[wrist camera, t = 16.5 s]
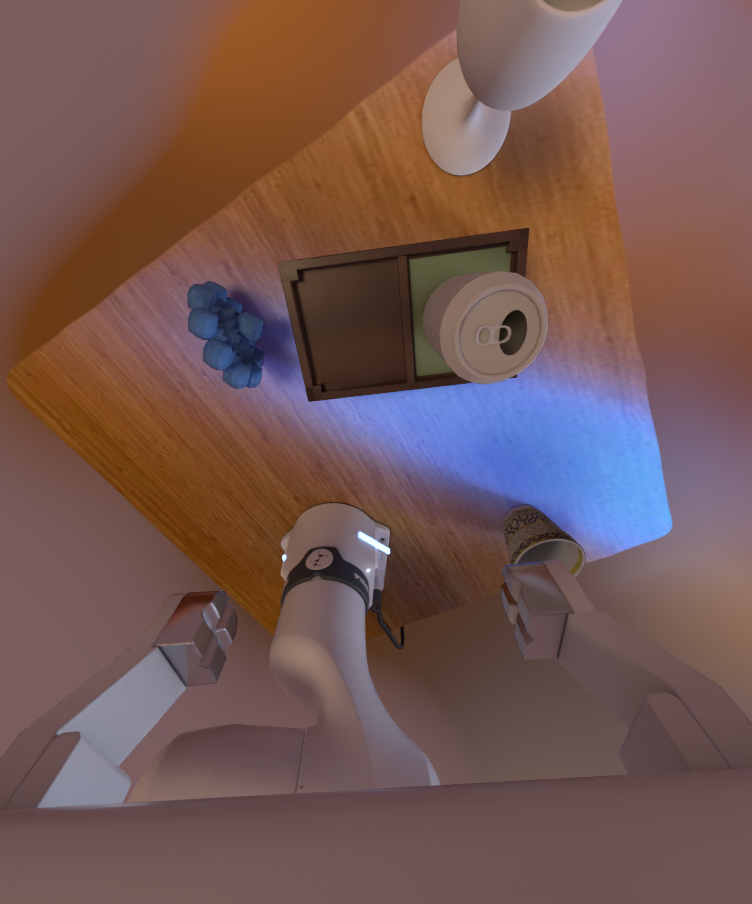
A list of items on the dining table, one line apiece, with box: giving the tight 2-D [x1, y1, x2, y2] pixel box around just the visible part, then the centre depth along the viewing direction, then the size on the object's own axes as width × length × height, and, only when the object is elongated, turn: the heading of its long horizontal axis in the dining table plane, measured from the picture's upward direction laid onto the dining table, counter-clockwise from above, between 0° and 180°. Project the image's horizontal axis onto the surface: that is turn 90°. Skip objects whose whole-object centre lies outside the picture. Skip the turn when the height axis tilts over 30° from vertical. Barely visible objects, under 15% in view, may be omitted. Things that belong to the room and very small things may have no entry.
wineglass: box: [422, 0, 622, 175], centre depth 23 cm, size 9×9×21 cm
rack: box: [278, 228, 529, 402], centre depth 36 cm, size 13×22×10 cm, turn 97°
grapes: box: [188, 281, 264, 389], centre depth 36 cm, size 12×7×12 cm, turn 22°
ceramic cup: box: [502, 504, 585, 578], centre depth 52 cm, size 13×10×10 cm
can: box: [422, 271, 548, 384], centre depth 27 cm, size 8×8×12 cm
